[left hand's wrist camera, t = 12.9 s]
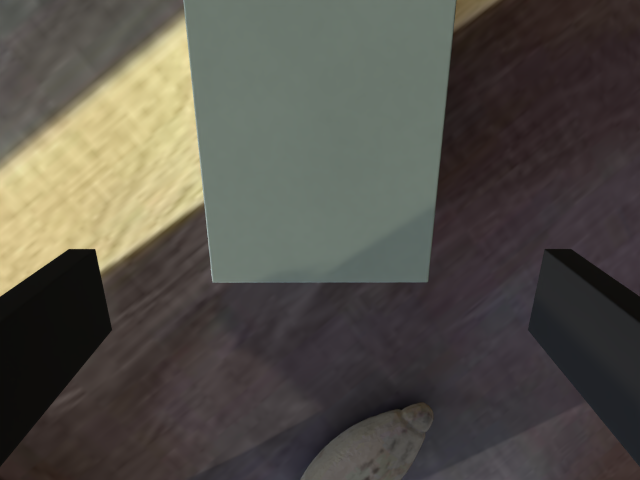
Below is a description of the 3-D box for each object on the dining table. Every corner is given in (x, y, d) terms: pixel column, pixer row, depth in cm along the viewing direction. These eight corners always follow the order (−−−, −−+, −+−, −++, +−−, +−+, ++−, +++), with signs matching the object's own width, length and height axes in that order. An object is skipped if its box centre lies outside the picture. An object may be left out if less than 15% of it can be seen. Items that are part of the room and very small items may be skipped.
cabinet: (223, -72, 23) (166, -159, 14) (416, -73, 23) (472, -159, 14) (243, 222, 29) (212, 282, 20) (396, 222, 29) (428, 282, 20)
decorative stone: (449, 412, 35) (463, 447, 31) (327, 515, 39) (328, 554, 36) (395, 373, 33) (403, 405, 30) (274, 484, 37) (270, 522, 34)
